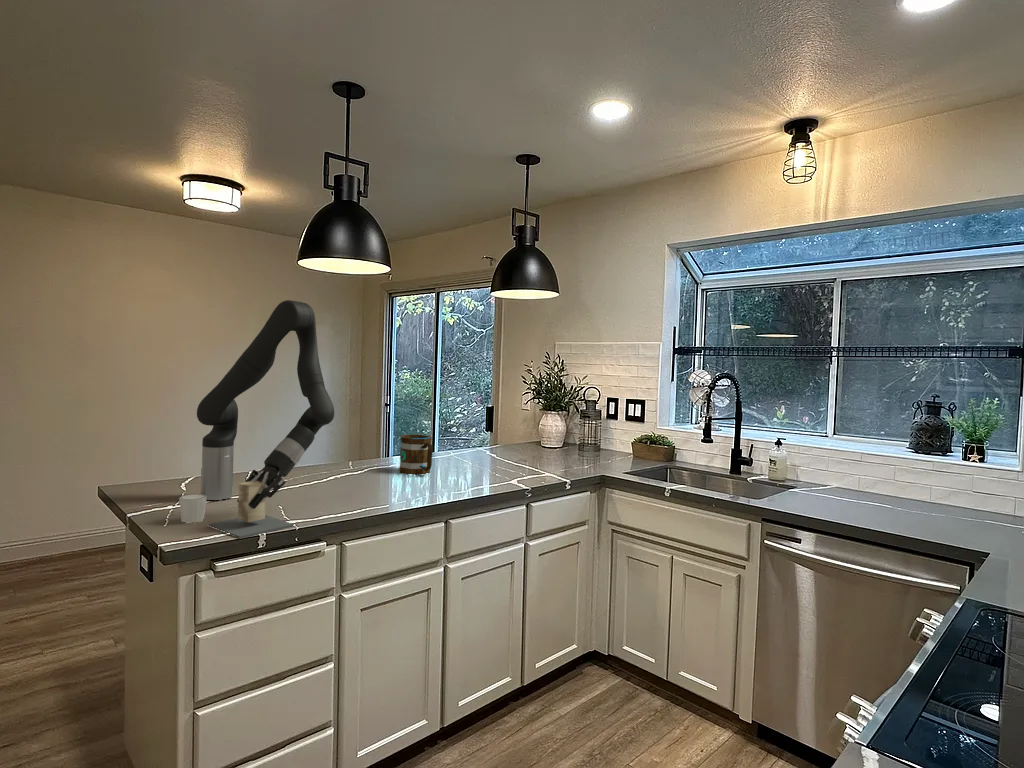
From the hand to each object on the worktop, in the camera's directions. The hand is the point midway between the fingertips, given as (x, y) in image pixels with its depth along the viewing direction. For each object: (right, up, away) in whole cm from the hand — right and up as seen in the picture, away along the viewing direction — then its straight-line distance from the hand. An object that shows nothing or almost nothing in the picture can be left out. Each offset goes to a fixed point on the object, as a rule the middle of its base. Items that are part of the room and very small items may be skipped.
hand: (245, 504), depth 166 cm
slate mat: (+1, -6, +2) cm, 7 cm away
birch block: (+1, -4, +2) cm, 5 cm away
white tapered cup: (-17, -6, +4) cm, 18 cm away
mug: (+34, -4, +86) cm, 92 cm away
